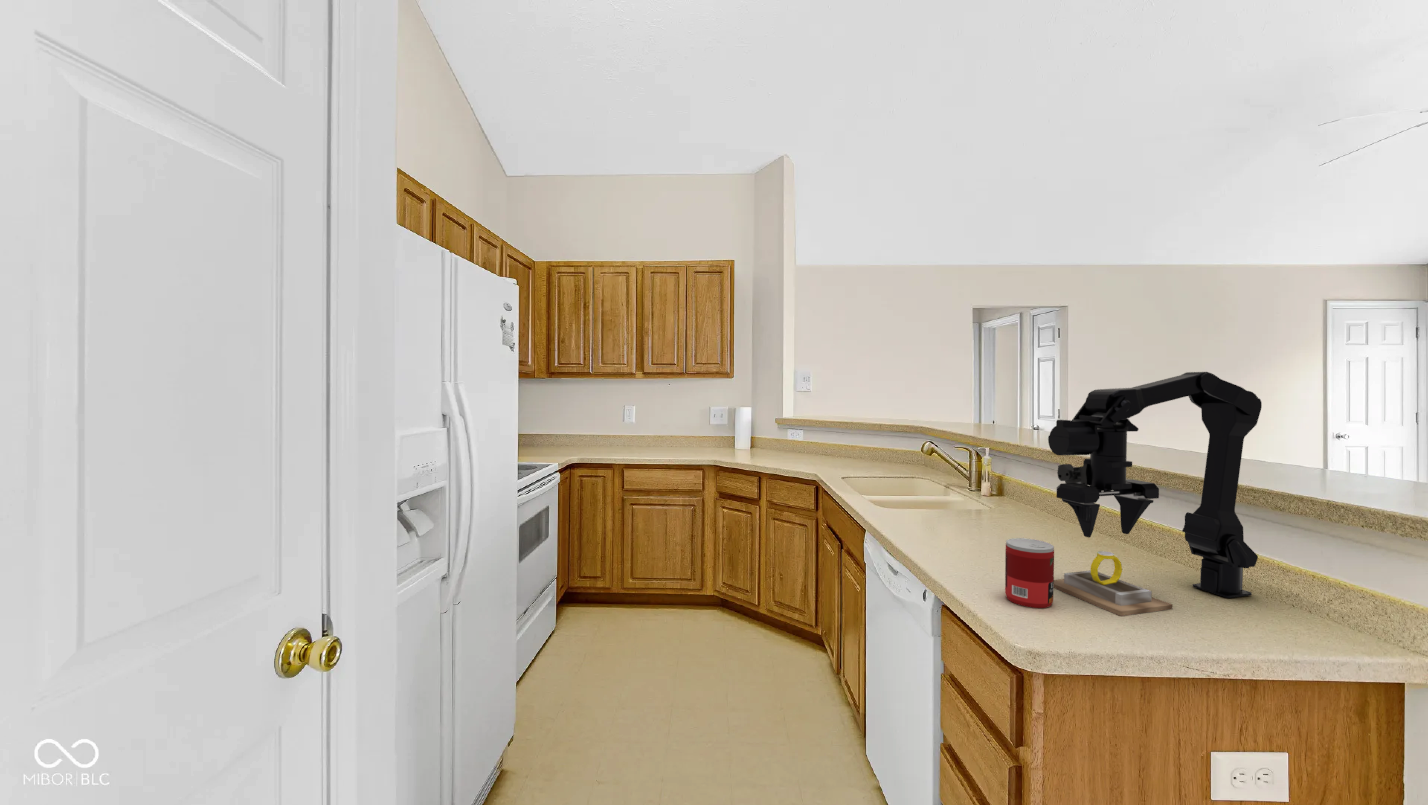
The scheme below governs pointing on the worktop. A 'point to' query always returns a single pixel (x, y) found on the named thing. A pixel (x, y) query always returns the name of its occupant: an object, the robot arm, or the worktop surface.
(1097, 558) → the watch
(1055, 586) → the track board
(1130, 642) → the worktop surface
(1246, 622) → the worktop surface
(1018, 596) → the canned food
